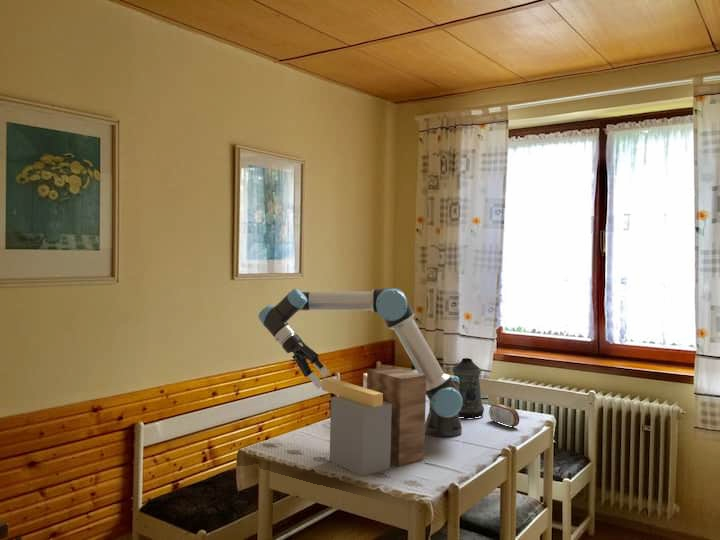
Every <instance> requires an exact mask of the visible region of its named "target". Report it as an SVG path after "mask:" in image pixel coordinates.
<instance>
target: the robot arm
mask: <svg viewBox="0 0 720 540" xmlns="http://www.w3.org/2000/svg"><path fill="white" fill-rule="evenodd" d="M299 311H371V313H373V314H374V313H377V314H378V315H379V316H380V317H381V318H382V320H383V321H384V323H385V325H386V326H387V328H388V329H389V330H392V331H394V333H395V334H396V336H397V338H398V339H399V341H400V343H401V345H402V346H403V348H404V350H405V352H406V354H407V355H408V357H409V359H410V361H411V362H412V365H414V366H415V370H417V371H418V373H420V374H424V375H426V398H427V399H428V401H429V408H428V409H429V411H428V415H427V418H426V419H425V433H427V434H428V435H431V436H436V437H442V436H452V437H457V436H456V435H458V436H459V434H460V435H462V434H463V426H462V422H461V419H460V418H459V415H458V413H459V411H460V410H461V408H462V404H463V398H462V396H461V394H460V391H459V384H460V382H459V378H458V377H457V376H454V375H450V374H448V373H445V372H444V370H443V368H442V367H441V365H440V363H439V362H438V360H437V358H436V356H435V354H434V352H433V351H432V349H431V348H430V346H429V344H428V342H427V341H426V339H425V336H424V335H423V333H422V332H421V329H420V328H419V326H418V325H417V323H416V320H415V314H416V313H415V311H414V310H413V307H412V306H411V304H410V303H409V300H408V298H407V295H406V293H405V292H404V291H403V290H402V289H400V288H398V287H396V286H391V287H385V288H372V289H371V291H309V292H308V291H301V290H300V289H299V288H296V287H295V288H293V289H292V290H291V291H290V292H288V293H287V294H286V296H284V297H283V298H282V300H281V301H279V302H278V303H277V304H276V305H272V304H269V305H266V306H265V307H264V308H263V309H261V311H260V312H259V313H258V319H259V321H260V322H261V324H262V325H263V326H264V327H265V329H267V331H268V332H269V333H270V334H271V335H272V336H273V338H274V341H275V342H277V343H278V344H279V345H280V346H281V347H282V348H283V350H284V351H285V352H286V353H287V354H289V353H293V355H292V359H293V360H294V361H295V363H296V364H297V366H298V368H299V369H300V371H301V373H302V375H303V376H304V377H305V378H306V377H307V378H308V379H309V381H311V382H312V384H313V385H314V386H315V387H316V388H317V389H318V390H319V389H320V388H322V380H321V379H320V378H319V377H318V376H317V374H316V373H315V372H314V370H312V369H311V368H310V365H309V363H308V361H309V362H311V365H313V366H314V367H315V368H316V371H318V372H319V373H320V374H321V376H322V377H323V379H325V378H327V377H328V375H330V374H331V372H330V371H329V370H328V368H327V367H326V366H325V365H324V364H323V363H322V362H321V360H320V358H319V354H318V353H317V352H315V350H313V349H312V348H311V347H309V346H308V345H307V344H306V343H304V340H302V338H301V337H300V336H299V335H298V333H296V330H294V328H293V327H292V326H291V325H290V324H289V323H288V321H289V320H290V319H292V318H293V316H294V315H295V314H297V312H299ZM307 360H308V361H307Z"/></svg>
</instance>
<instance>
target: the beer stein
mask: <svg viewBox="0 0 720 540" xmlns="http://www.w3.org/2000/svg"><path fill="white" fill-rule="evenodd" d="M452 370H453V376H457V377H458V378H459V382H460V384H459V391H460V394H461V396H462V398H463V404H462V408H461V410H460V411H459V413H458V415H459V417H464V418H475V417H479V416H482V415H484V411H485V408H484V405H483V401H482V400H483V399H482V394H481V392H482V391H481V383H480V375H481V373H482V371H481V368H480V367H479V366H478V365H477V364H475V363H474V361H473V359H471V358H468V357H467V358H466V357H463V358H462V359H461V361H460V362H458V363H457V364H456V365H455V366H454V367H453V368H452ZM482 417H483V416H482Z"/></svg>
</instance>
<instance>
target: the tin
mask: <svg viewBox="0 0 720 540" xmlns="http://www.w3.org/2000/svg"><path fill="white" fill-rule="evenodd" d="M488 411H489V417H490V419H491V421H492V420H493V421H496V422H500V423H503V424H506V425H509V426H512V427H511V428H515V427H514V426H516V427H517V426H518V425H519V424H520V415H519V412H518V411H517V409H515V408H514V407H512V406H508V405H505V404H502V403H498V402H497V403H494V404H492V405H491V406H490V407H489V410H488ZM493 421H492V422H493Z"/></svg>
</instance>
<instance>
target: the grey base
mask: <svg viewBox="0 0 720 540" xmlns="http://www.w3.org/2000/svg"><path fill="white" fill-rule="evenodd" d="M391 416H392V404H391V403H388V402H384V401H383V405H382V406H377V407H371V406H368V405H365V404H362V403H359V402H356V401H353V400H351V399H348V398H345V397H342V396H339V395H337V396H332V397H330V419H329V421H330V425H329V461H330V462H331V463H333V464H336V465H337V466H340V467H342V468H343V469H346V470H348V471H350V472H353V473H354V474H357V475H359V476H361V477H366V476H369V475H371V474H376V473H379V472H383V471H387V470H390V469H391V463H390V450H391Z"/></svg>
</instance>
